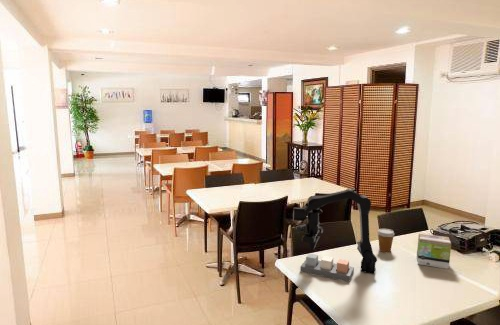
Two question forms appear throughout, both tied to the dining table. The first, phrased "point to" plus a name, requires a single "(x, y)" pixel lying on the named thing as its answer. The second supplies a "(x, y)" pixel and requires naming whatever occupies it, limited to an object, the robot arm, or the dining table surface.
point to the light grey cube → (312, 260)
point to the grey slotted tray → (327, 271)
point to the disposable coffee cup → (385, 239)
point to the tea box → (433, 251)
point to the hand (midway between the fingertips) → (312, 249)
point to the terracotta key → (343, 266)
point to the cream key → (327, 263)
